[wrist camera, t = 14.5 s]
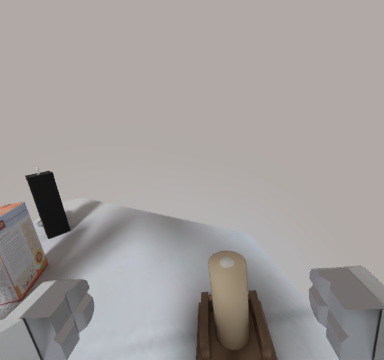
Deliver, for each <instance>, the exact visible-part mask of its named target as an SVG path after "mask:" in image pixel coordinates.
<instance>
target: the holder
mask: <svg viewBox="0 0 384 360" xmlns="http://www.w3.org/2000/svg"><path fill="white" fill-rule="evenodd" d="M248 310H249V330H250V338H249V341H248V343H247V345H246V346H245V347H243V348H242V349H239V350H230V349H227V348H225V347H224V346H223V345H222V344H221V343H220V342H219V341H218V339H217V335H216V328H215V318H214V309H213V300H212V295H208V292H202V294H201V303H199V312H198V333H197V355H196V360H277V357H276V354H275V350H274V347H273V343H272V340H271V337H270V333H269V330H268V327H267V323H266V320H265V316H264V313H263V310H262V306H261V303H260V301H259V300H258V297H257V293H256V290H255V291H249V294H248Z"/></svg>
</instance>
